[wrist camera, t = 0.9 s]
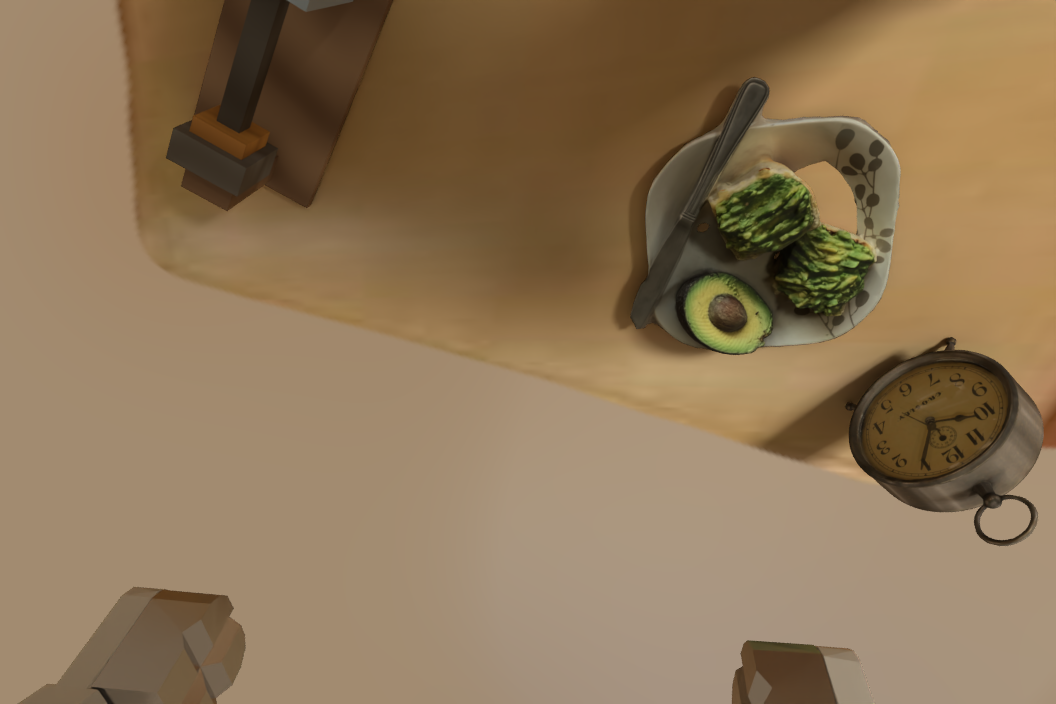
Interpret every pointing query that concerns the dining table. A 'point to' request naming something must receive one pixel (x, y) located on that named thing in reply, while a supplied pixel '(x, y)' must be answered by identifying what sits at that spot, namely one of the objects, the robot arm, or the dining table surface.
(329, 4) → the sleeve
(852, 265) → the salad plate
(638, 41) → the dining table surface
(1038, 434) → the alarm clock
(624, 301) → the dining table surface
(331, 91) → the rail rig
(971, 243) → the dining table surface
